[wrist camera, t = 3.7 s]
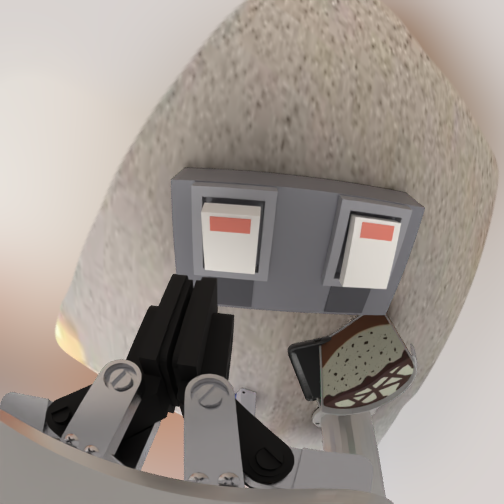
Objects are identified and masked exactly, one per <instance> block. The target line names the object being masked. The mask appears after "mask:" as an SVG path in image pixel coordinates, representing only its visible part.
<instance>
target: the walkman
mask: <svg viewBox="0 0 504 504" xmlns="http://www.w3.org/2000/svg"><path fill="white" fill-rule="evenodd" d="M235 399H236V400H238V401H239V402H240V403H241V404H242V405H243V406H244V407H245V408H246V409H247V410H248V411H249V412H250V413H251V414H252V415H253V416H254V417H255V408H256V392H252V391H249V390H247V389H244V388H241V389H240V390H239V391H238V392H237V393H236V394H235Z"/></svg>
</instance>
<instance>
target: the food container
mask: <svg viewBox="0 0 504 504" xmlns="http://www.w3.org/2000/svg"><path fill="white" fill-rule="evenodd" d="M329 337H332V338H331V340H330V341H329V342H326V343H324V344H323V345H320V346H319V354H320V382H321V399H319V398H317V399H316V400H317V403H318V406H319V408H321V411H322V412H324V413H327V414H332V415H352V414H358V413H363V412H367V411H370V410H373V409H376V408H378V407H381V406H383V405H385V404H387V403H389V402H391V401H392V400H394V399H395V398H397V397H398V396H400V395H401V394H402V393H403V392H404V391H406V389H407V388H408V387H409V386H410V385H411V384H412V382H413V380H414V379H415V376H416V372H417V359H416V353H415V349H414V347H413V345H412V344H410V347H411V353H412V355H411V354H410V352H409V351H408V349H407V347H406V345H405V344H404V342H403V340H402V339H401V337H400V335H399V334H398V332H397V330H396V329H395V327H394V325H393V324H392V322H391V320H390V319H389V317H388V316H387V314H385V315H359V316H358V317H356V318H355V319H353V320H352V321H351V322H349V323H348V324H346V325H345V326H343V327H342V328H340V329H339V330H337V331H336V332H334V333H333V334H331V335H330V336H329Z"/></svg>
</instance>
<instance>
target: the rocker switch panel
mask: <svg viewBox="0 0 504 504" xmlns="http://www.w3.org/2000/svg"><path fill="white" fill-rule="evenodd" d="M171 199H172V220H173V237H174V250H175V263H176V274H178V275H187V276H188V279H190V280H193V286H194V285H195V282H196V280H201V279H202V277H210V278H217V306H225V307H235V308H247V309H259V310H272V311H286V312H303V313H323V314H349V315H385V314H386V312H387V310H388V308H389V306H390V303H391V301H392V299H393V296H394V294H395V292H396V289H397V287H398V284H399V282H400V280H401V277H402V274H403V272H404V269H405V267H406V264H407V261H408V259H409V256H410V253H411V250H412V247H413V244H414V242H415V239H416V236H417V232H418V229H419V226H420V223H421V220H422V216H423V213H424V209H425V208H424V207H423V206H422V205H421V204H420V203H418V202H417V201H416V200H415V199H413V198H412V197H411V196H410V195H408V194H407V193H405V192H400V191H395V190H390V189H385V188H379V187H373V186H368V185H362V184H356V183H349V182H343V181H336V180H329V179H321V178H313V177H305V176H297V175H287V174H278V173H267V172H255V171H242V170H227V169H208V168H184V169H183V170H181V171H180V172H179V173H178V174H177V175H176V176H174V177H173V178H172V179H171ZM204 203H219V204H233V205H246V206H258V207H261V212H260V224H259V235H258V245H257V255H256V266H255V274H245V273H233V272H222V271H212V270H205V263H204V250H203V236H202V221H201V211H202V208H203V205H204ZM351 214H355V215H362V216H370V217H377V218H384V219H391V220H395V221H397V222H399V223H401V227H400V232H399V237H398V242H397V247H396V251H395V256H394V260H393V265H392V269H391V273H390V277H389V281H388V285H387V288H386V289H374V288H355V287H343V286H342V285H341V283H340V281H339V278H340V274H341V268H342V263H343V258H344V253H345V247H346V241H347V235H348V229H349V223H350V216H351Z"/></svg>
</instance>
